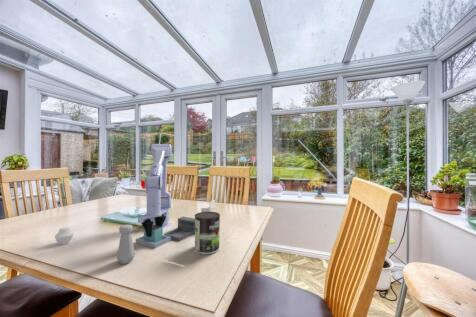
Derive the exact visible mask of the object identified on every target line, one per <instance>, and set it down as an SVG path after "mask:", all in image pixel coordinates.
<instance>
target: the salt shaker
mask: <svg viewBox="0 0 476 317" xmlns="http://www.w3.org/2000/svg"><path fill="white" fill-rule="evenodd" d="M118 230H119V231H118V232H119V234H120V237H119V238H120V239H119V243H118V249H117V254H116V259H117V262H118V264H120V265H128V264H130V263H131V262H133V260H134V258H135V256H136V252H135V246H134V241H133V235H132V232H133V225H132V224H123V225H120V227H119V228H118Z"/></svg>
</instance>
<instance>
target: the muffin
mask: <svg viewBox="0 0 476 317" xmlns="http://www.w3.org/2000/svg"><path fill="white" fill-rule="evenodd" d="M73 236H74V232H73V231H71V229H70V227H67V226H65V227H61V228H60V229H59V230H58V232H57V233H56V234H55V236H54V239H55V241H56V242H57V243H58V244H59V245H61V246H62V245H68V244H70V241H71V240H72V238H73Z"/></svg>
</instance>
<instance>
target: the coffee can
mask: <svg viewBox="0 0 476 317" xmlns="http://www.w3.org/2000/svg"><path fill="white" fill-rule="evenodd" d="M194 218H195V233H194V250H195V252H196V253H199V254H201V255H212V254H216V253H217V252H218V251H219V250H220V226H221V225H220V224H221V223H220V222H221V221H220V220H221V214H220V213H219V212H216V211H215V212H201V211H200V212H197V213H195V215H194Z"/></svg>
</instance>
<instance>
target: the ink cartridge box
mask: <svg viewBox="0 0 476 317" xmlns="http://www.w3.org/2000/svg"><path fill="white" fill-rule="evenodd" d="M200 210H201V211H200V212H216V201H215V198H214V199H212V200H211V201H209V204H208V203H207V204H205V205H204V206H202V207H201V209H200Z"/></svg>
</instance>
